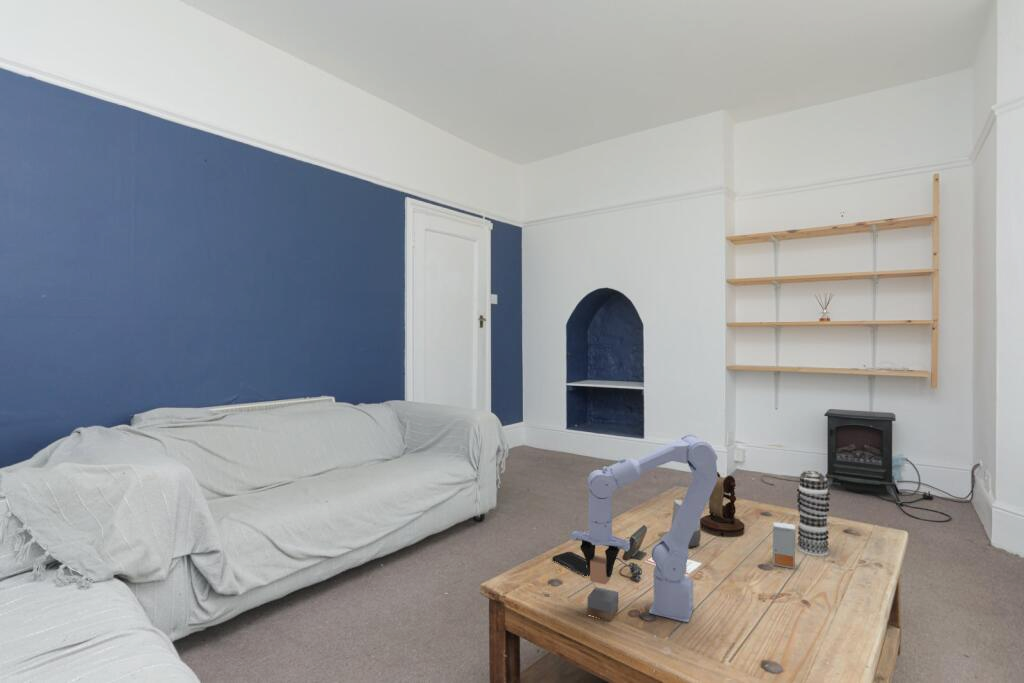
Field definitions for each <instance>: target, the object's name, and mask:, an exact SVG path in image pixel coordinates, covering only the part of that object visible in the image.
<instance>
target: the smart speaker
mask: <svg viewBox="0 0 1024 683" xmlns="http://www.w3.org/2000/svg"><path fill="white" fill-rule="evenodd" d="M682 501H683V500H681V499H673V507H672V516H671V525H670V527H671V526H672V523H673V521H674V519H675V517H676V515H677V512H678V510H679V508H680V506H681V504H682ZM701 534H702V533H701V525H700V521H699V522H698V524H697V526H696V529H695V531H694V533H693V535H692V537H691V540H690V542H689V544H688V548H693V547H696V546H698V545H699V543H700V541H701V536H702V535H701Z"/></svg>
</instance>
